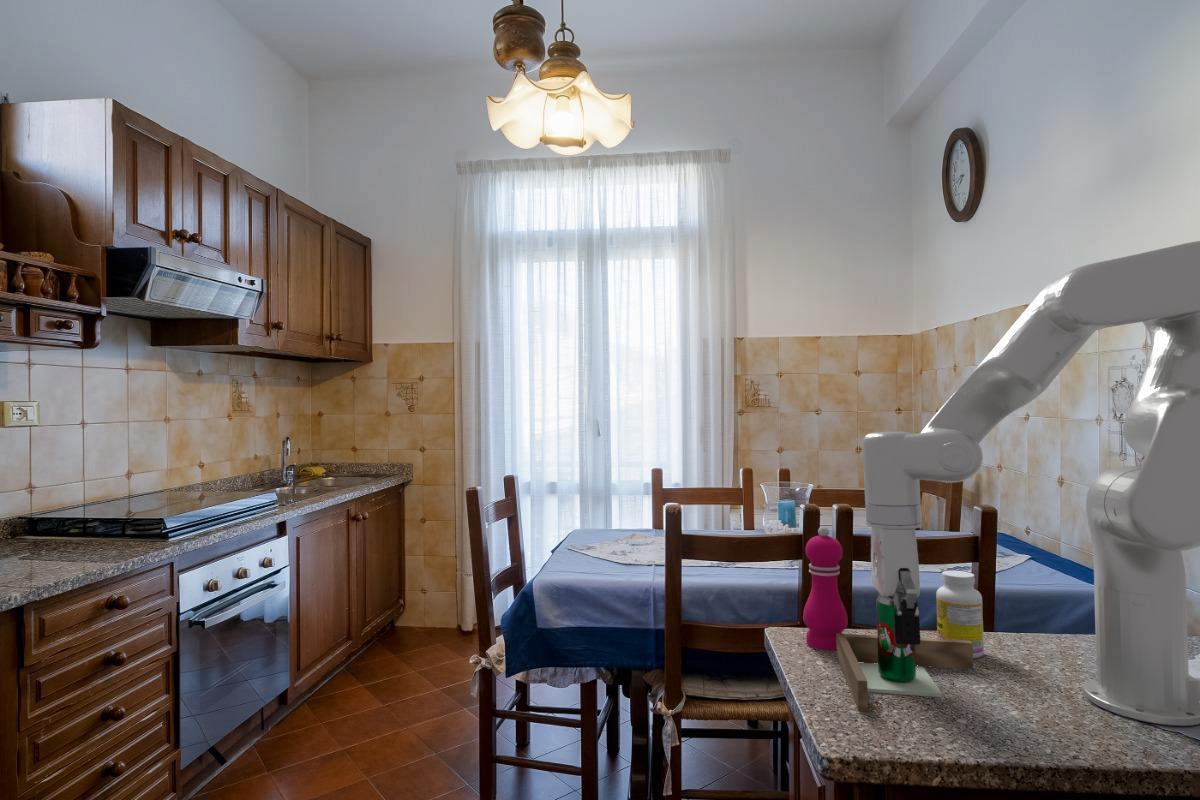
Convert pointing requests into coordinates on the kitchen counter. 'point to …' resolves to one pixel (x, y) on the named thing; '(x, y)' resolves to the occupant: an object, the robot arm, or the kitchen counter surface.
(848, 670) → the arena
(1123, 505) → the robot arm
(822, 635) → the pepper mill
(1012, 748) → the kitchen counter surface
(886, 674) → the soda can
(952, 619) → the supplement bottle
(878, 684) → the pad
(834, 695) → the kitchen counter surface
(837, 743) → the kitchen counter surface
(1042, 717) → the kitchen counter surface
